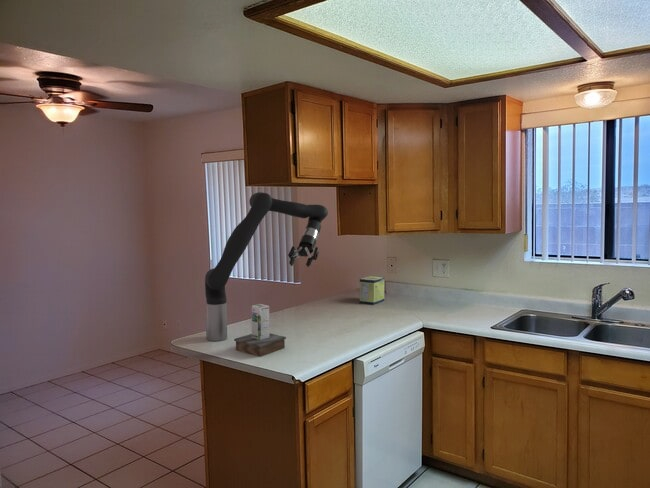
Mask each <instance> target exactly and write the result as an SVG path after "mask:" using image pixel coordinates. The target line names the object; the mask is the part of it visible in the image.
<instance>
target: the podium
mask: <svg viewBox="0 0 650 488" xmlns="http://www.w3.org/2000/svg"><path fill="white" fill-rule="evenodd" d="M286 339H287V337H286V336H283V335H278V334H275V333H270V332H269V338H266V339H262V340H258V339H255V338H252V333H250V334H246V335H243V336H240V337H236V338H234V339H233V342H235V350H236V351H238V352H242V353H244V354H245V353H246V354H249V355H253V356H257V357H263V356H266V355H269V354H272V353H275V352H277V351H281V350H283V349H285V347H286V346H285V345H286V343H285V340H286Z"/></svg>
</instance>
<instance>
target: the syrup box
mask: <svg viewBox="0 0 650 488" xmlns="http://www.w3.org/2000/svg"><path fill="white" fill-rule="evenodd" d="M269 333H270V305H266V304H262V303H257V304H253V305H251V334H252V338H255V339H258V340H262V339H266V338H269Z"/></svg>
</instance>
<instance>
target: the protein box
mask: <svg viewBox="0 0 650 488" xmlns="http://www.w3.org/2000/svg"><path fill="white" fill-rule="evenodd" d="M384 301H385V276H383V277H382V276H373V275H369V276H367V277H362V278H359V304H363V303H364V304H365V305H373V306H374V304H375V305H377V304H380V303H382V302H384ZM379 302H380V303H379Z"/></svg>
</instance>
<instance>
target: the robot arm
mask: <svg viewBox="0 0 650 488" xmlns="http://www.w3.org/2000/svg"><path fill="white" fill-rule="evenodd" d="M248 203H249V206H250V209H249V210H248V213H247V214H246V216H244V218H243V219H242V220H241V221H240V222H239V223H238V224H237V225H236V227H235V228H234V229H233V231H232V232H231V233H230V236H229V237H228V239H227V241H226V243H225V246H224V249H223V252H222V254H221V257H220V259H219V260H218V263H217V264H216V265H215V266H214V268H210V269H209V270H208V271H206V274H205V276H204V277H205V278H204V283H205V284H204V288H205V289H204V290H205V292H204V293H205V299H206V300H205V301H206V318H205V335H206V340H207V341H210V342H219V341H220V342H221V341H225V340H226V339H228V311H227V310H228V309H227V308H228V307H227V306H228V305H227V301H228V300H227V295H226V285H227V283H228V281H229V278H230V276H231V274H232V272H233V269H234V268H235V266H236V264H237V262H238V261H239V260H240V258H241V257H242V255H243V254H244V253H245V251H246V248H248V245H249V243H250V242H251V240H252V238H253V237H254V235H255V233H256V231H257V229H258V228H259V226H260V224H261V222H262V221H263V219H264V218H265V217H266V216H267V214H268V212H274V213H280V214H283V215H288V216H290V217H295V218H300V219H308V221H307V225H306V226H305V229H304V231H303V233H302V235H301V239H299V240H300V241H299V243H298V246H297V247H295V246H291V249H290V250H289V252H288V254H287V256H288V258H289V259H290V260H289V262H288V264H290V266H291V267H293V266H294V264H295V260H296V259H299V258H300V257H308V258H307V261H306V263H305V265H306V267H308V268H309V267H310V266H311V265H312V262H313V261H317V259H318V256H319V253H320V249H319V248H318V246H316V244H317V242H318V238H319V235H320V231H321V229H322V225H321V224H322V222H323V220H325V218H327V216H328V215H329V211H328V209H327V208H326V206H324V205H323V204H306V203H305V204H304V203H300V202H295V201H289V200H283V199H282V200H281V199H278V198H274V197H272V196H271V195H270V194H269V193H267V192H263V191H262V192H261V191H260V192H255V193H253V194H252V195H251V196H250V198H249V202H248ZM312 253H313V254H312ZM311 254H312V255H311Z"/></svg>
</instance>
